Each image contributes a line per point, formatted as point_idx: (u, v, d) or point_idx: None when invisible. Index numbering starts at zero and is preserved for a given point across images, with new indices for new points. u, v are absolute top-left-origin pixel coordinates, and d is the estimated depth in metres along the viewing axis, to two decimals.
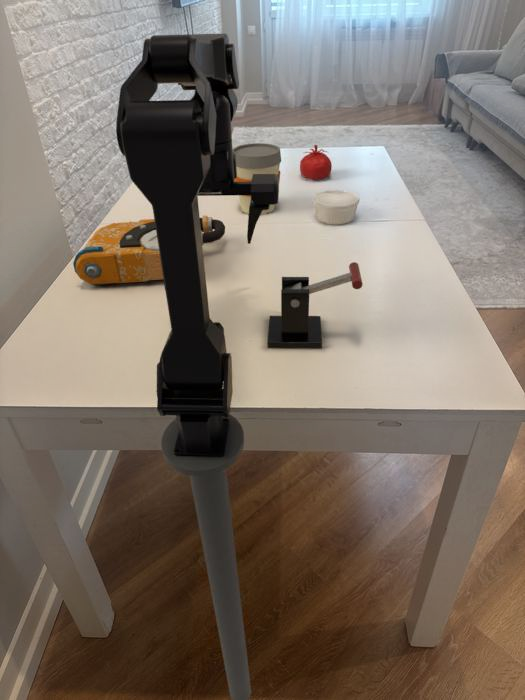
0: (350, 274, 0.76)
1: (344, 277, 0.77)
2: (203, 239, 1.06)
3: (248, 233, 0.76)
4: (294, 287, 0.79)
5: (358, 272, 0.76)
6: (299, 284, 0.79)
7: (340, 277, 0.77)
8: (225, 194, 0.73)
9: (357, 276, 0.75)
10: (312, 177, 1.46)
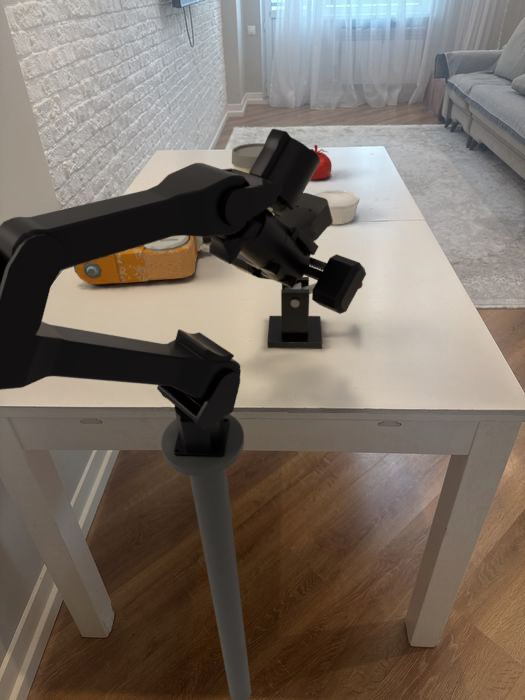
0: None
1: None
2: (203, 239, 1.06)
3: None
4: (294, 287, 0.79)
5: None
6: (299, 284, 0.79)
7: None
8: None
9: None
10: (312, 177, 1.46)
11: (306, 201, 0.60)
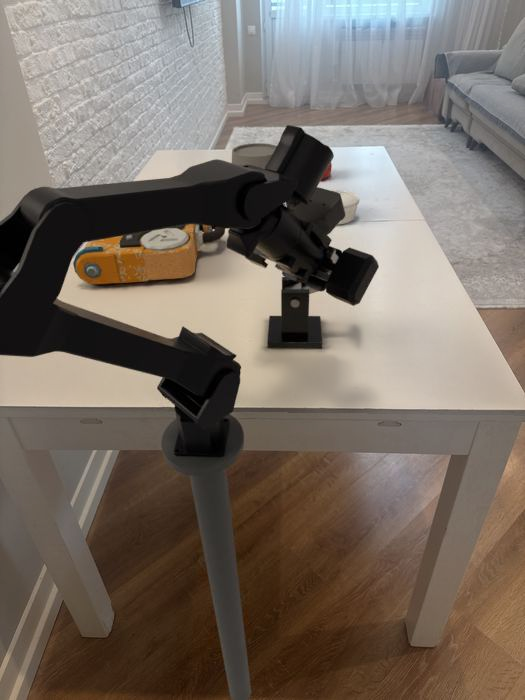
0: None
1: None
2: (203, 239, 1.06)
3: None
4: (294, 287, 0.79)
5: None
6: (299, 284, 0.79)
7: None
8: None
9: None
10: None
11: (319, 195, 0.61)
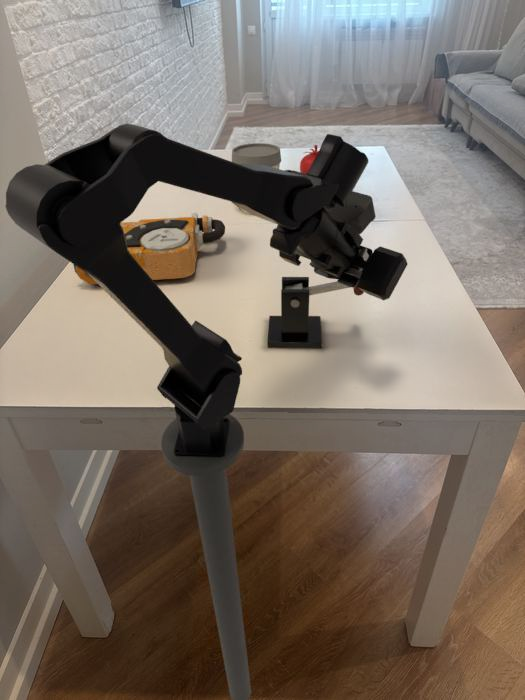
0: None
1: None
2: (203, 239, 1.06)
3: None
4: (295, 287, 0.79)
5: None
6: (300, 284, 0.79)
7: None
8: None
9: None
10: None
11: (352, 198, 0.66)
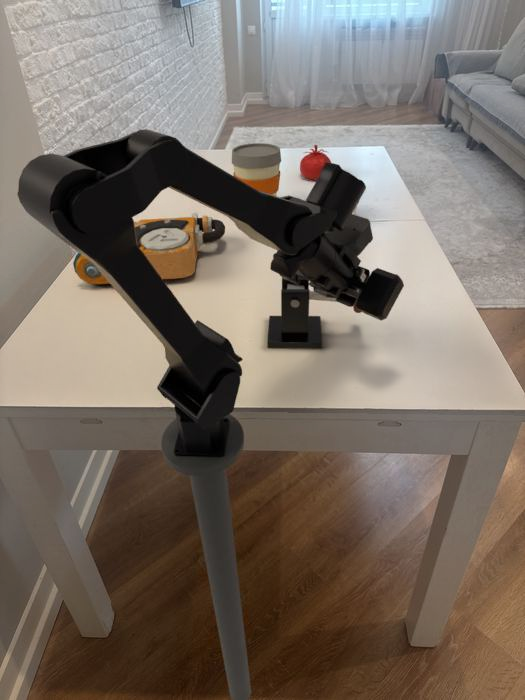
0: None
1: None
2: (203, 239, 1.06)
3: None
4: (297, 287, 0.79)
5: None
6: (303, 286, 0.79)
7: None
8: None
9: None
10: (312, 177, 1.46)
11: (350, 221, 0.68)
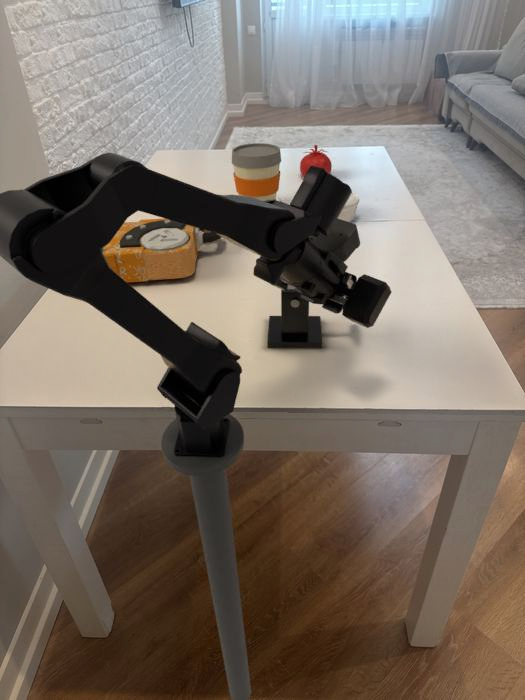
0: None
1: None
2: (203, 239, 1.06)
3: None
4: None
5: None
6: None
7: None
8: None
9: None
10: None
11: (337, 226, 0.67)
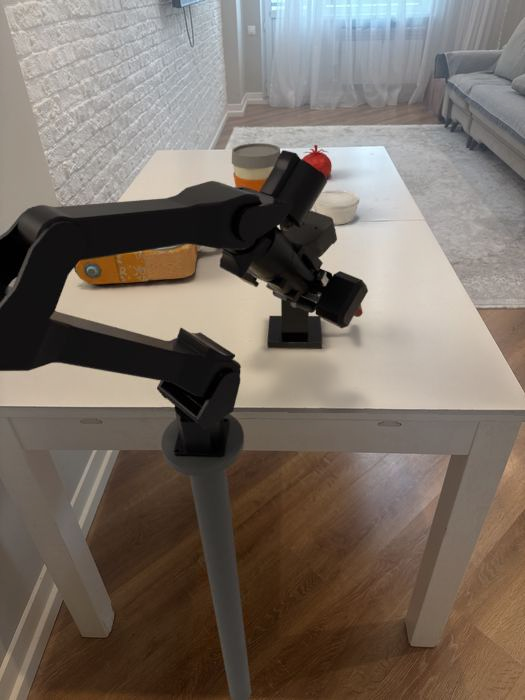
0: None
1: None
2: None
3: None
4: None
5: None
6: None
7: None
8: None
9: None
10: None
11: (312, 219, 0.63)
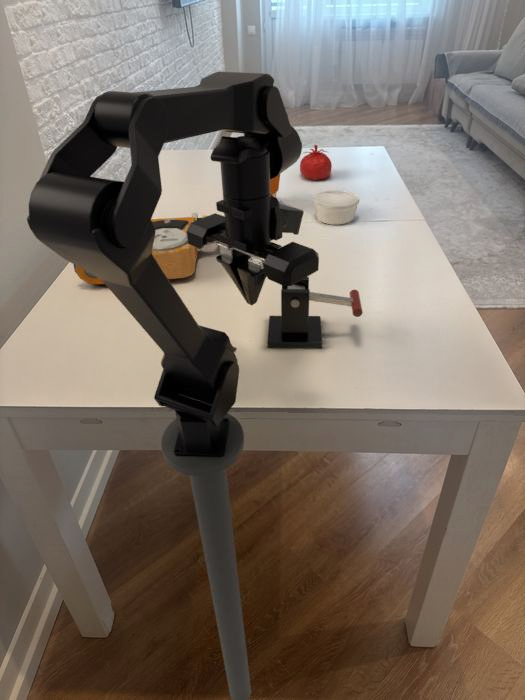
0: (352, 300, 0.79)
1: (346, 300, 0.79)
2: None
3: (246, 294, 0.66)
4: (298, 288, 0.79)
5: (360, 301, 0.79)
6: (303, 287, 0.79)
7: (342, 298, 0.79)
8: None
9: (359, 305, 0.78)
10: (312, 177, 1.46)
11: (284, 205, 0.65)
